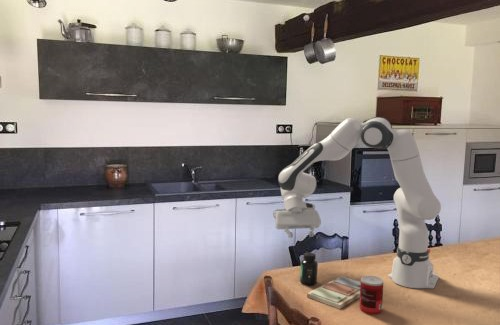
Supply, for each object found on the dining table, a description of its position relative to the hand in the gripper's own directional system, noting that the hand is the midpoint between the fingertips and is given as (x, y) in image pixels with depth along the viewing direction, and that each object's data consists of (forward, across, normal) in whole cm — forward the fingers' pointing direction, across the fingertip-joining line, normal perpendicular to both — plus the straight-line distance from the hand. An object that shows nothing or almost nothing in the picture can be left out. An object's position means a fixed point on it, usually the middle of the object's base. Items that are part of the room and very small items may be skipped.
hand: (301, 236), depth 184 cm
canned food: (+38, +13, -15) cm, 43 cm away
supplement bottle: (+19, 0, +4) cm, 20 cm away
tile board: (+28, +8, -5) cm, 29 cm away
